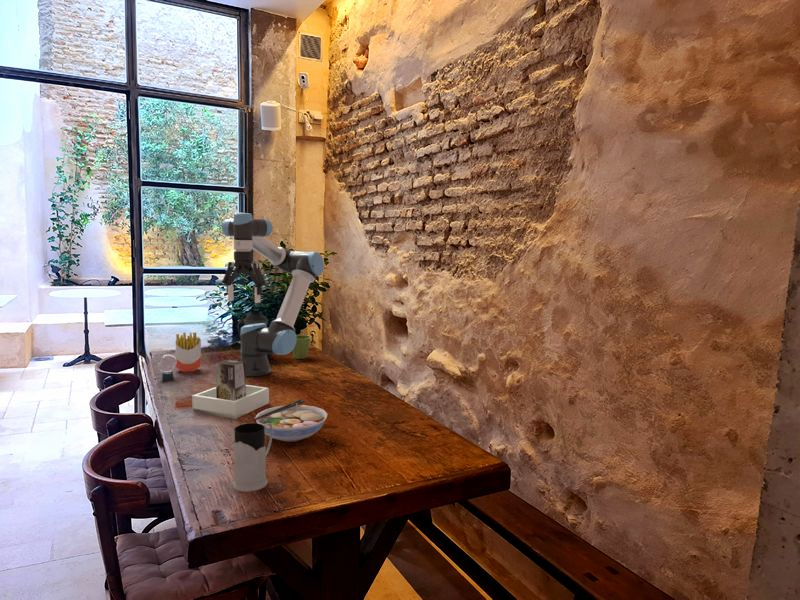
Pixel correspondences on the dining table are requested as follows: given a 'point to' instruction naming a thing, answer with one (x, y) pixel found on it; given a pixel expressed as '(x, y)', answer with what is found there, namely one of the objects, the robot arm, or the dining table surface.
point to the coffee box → (230, 380)
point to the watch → (166, 374)
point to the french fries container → (188, 352)
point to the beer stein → (253, 322)
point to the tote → (230, 402)
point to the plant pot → (301, 346)
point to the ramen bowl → (292, 421)
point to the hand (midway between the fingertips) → (244, 301)
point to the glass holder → (250, 456)
